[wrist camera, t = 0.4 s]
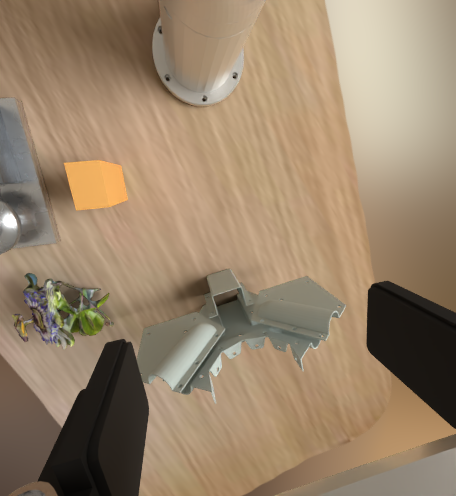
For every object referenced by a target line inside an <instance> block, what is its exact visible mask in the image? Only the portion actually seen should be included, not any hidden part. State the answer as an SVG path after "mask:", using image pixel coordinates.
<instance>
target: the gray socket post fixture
mask: <svg viewBox="0 0 456 496" xmlns="http://www.w3.org/2000/svg"><path fill="white" fill-rule="evenodd" d="M59 241H61V239H60V236H59V232H58V229H57V225H56V222H55V218H54V214H53V211H52V207H51V204H50V200H49V197H48V193H47V190H46V186H45V183H44V179H43V175H42V172H41V168H40V165H39V161H38V158H37V154H36V151H35V147H34V144H33V140H32V136H31V133H30V129H29V126H28V122H27V119H26V115H25V112H24V108H23V105H22V101H20V100H18V99H16V98H0V254H2V253H5V252H7V251H9V250H10V249H12V248H20V247H28V246H36V245H44V244H52V243H57V242H59Z"/></svg>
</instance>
